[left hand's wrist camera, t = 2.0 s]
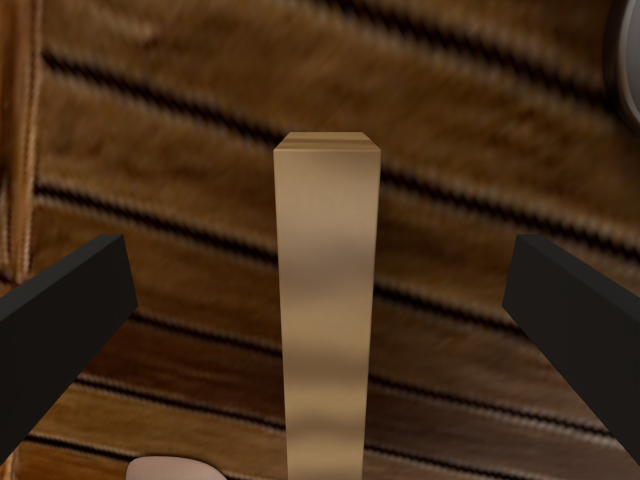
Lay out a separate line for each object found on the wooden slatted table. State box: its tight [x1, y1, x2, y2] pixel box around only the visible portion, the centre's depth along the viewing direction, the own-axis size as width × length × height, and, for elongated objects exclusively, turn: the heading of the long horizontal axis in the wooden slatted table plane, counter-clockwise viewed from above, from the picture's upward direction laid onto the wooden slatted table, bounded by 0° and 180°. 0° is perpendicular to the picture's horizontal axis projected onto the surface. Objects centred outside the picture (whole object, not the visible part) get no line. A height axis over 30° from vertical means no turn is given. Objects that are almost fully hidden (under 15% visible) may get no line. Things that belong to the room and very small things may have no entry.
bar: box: [273, 132, 382, 480], centre depth 24 cm, size 22×5×8 cm, turn 0°
